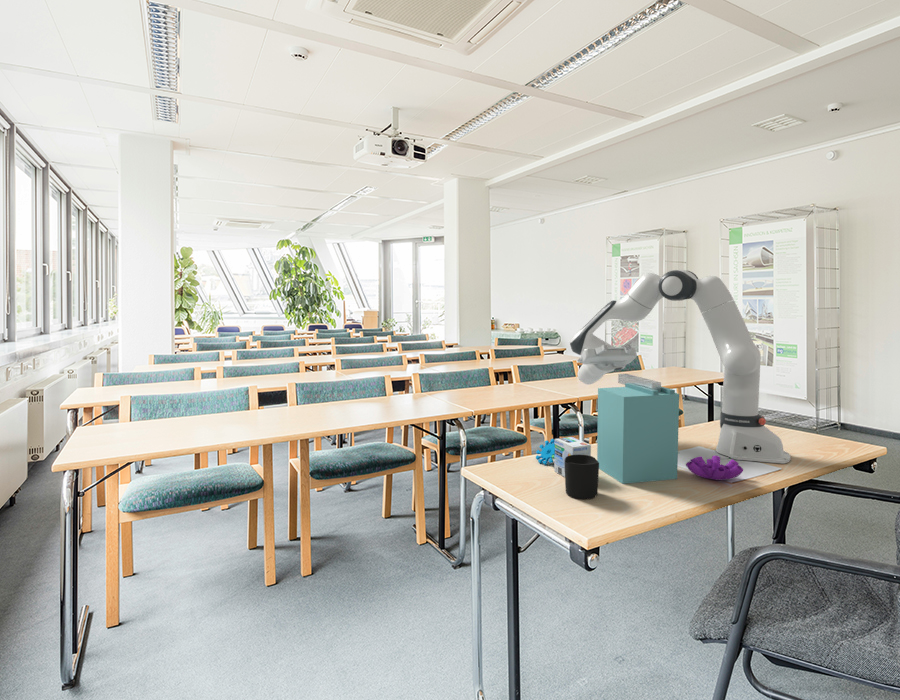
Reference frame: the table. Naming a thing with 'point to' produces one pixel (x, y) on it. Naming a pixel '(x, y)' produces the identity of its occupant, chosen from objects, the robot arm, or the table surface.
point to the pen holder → (581, 476)
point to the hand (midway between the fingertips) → (617, 346)
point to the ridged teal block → (638, 433)
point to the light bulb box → (568, 451)
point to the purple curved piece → (714, 468)
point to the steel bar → (639, 381)
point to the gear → (546, 452)
